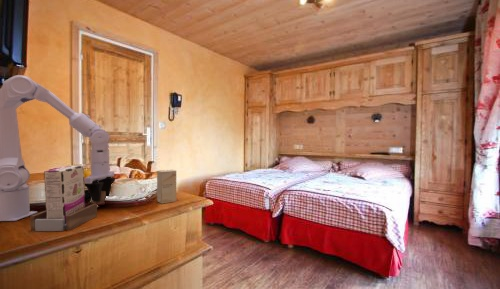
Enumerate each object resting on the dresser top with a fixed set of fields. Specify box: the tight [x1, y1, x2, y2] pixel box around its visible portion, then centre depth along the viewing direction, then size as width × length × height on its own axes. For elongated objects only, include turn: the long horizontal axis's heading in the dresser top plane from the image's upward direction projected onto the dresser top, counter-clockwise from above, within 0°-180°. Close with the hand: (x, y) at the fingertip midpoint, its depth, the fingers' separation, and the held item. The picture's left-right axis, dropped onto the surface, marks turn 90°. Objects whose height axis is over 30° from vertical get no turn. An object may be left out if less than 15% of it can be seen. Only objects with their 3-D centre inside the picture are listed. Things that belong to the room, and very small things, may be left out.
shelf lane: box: [30, 203, 98, 232], centre depth 72 cm, size 11×12×4 cm
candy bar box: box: [43, 164, 86, 224], centre depth 72 cm, size 11×5×16 cm, turn 9°
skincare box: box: [156, 169, 177, 204], centre depth 95 cm, size 6×4×12 cm
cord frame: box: [35, 191, 107, 232], centre depth 77 cm, size 7×25×5 cm, turn 1°
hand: (101, 199), depth 88 cm, fingers open, 5 cm apart
